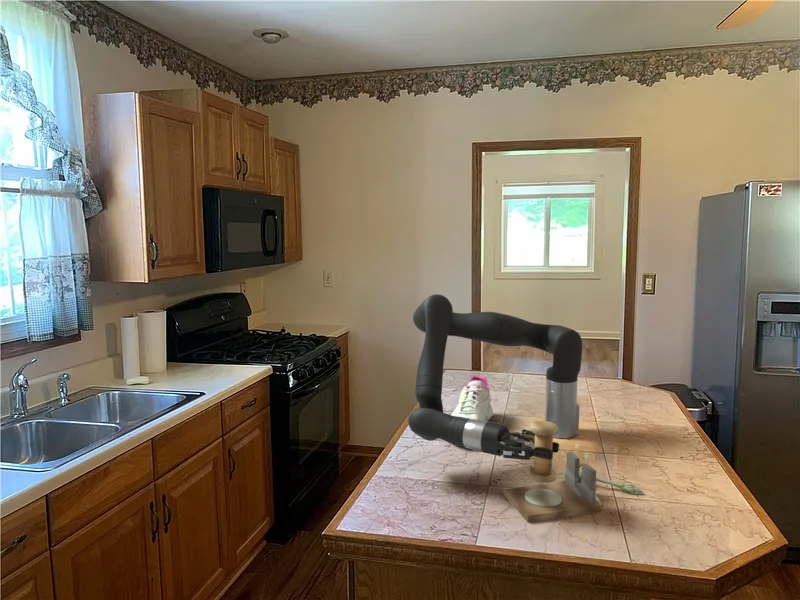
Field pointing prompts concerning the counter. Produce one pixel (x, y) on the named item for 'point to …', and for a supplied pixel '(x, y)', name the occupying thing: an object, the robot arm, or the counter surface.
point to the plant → (623, 486)
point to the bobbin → (544, 440)
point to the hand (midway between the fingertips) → (555, 451)
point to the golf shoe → (475, 400)
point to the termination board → (558, 495)
